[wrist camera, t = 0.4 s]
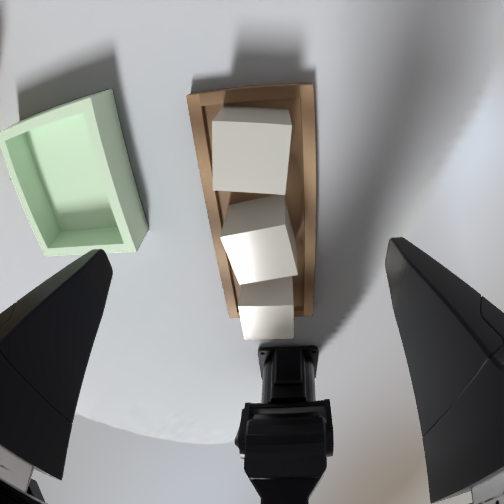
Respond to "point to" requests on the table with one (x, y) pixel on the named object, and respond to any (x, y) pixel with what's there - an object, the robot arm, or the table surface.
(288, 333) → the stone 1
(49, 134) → the green bin
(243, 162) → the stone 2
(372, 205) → the table surface
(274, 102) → the walnut tray
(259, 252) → the white small cube
